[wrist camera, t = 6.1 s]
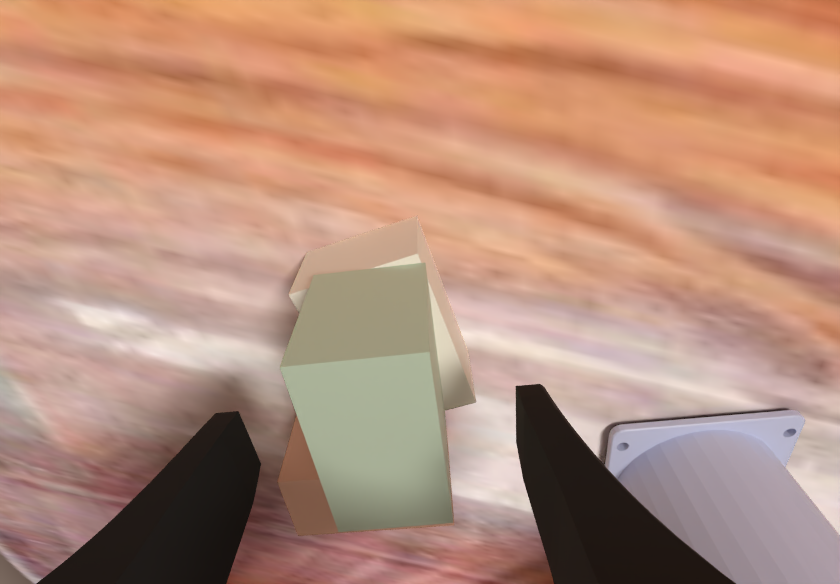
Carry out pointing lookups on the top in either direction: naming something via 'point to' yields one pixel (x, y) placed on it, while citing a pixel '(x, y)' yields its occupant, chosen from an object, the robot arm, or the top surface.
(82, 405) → the top surface
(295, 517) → the terracotta brick
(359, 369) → the green brick
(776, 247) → the top surface
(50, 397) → the top surface
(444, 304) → the cream brick
